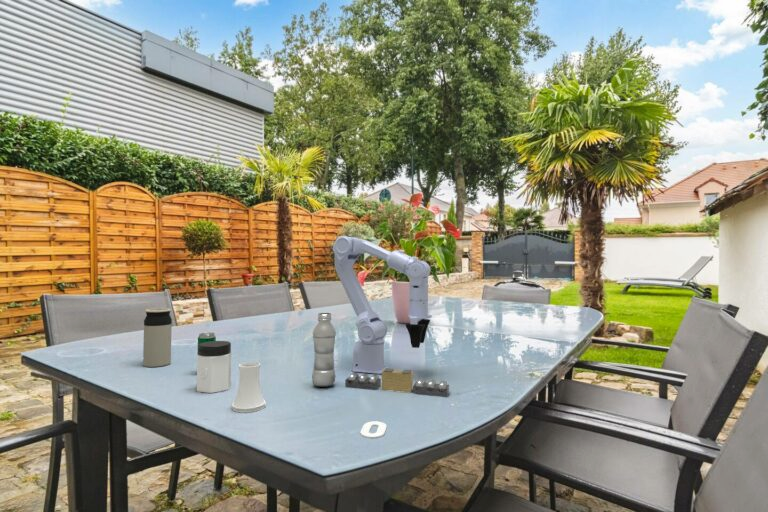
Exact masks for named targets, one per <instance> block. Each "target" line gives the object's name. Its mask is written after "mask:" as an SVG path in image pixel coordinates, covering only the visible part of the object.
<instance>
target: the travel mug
mask: <svg viewBox="0 0 768 512" xmlns="http://www.w3.org/2000/svg"><path fill="white" fill-rule="evenodd" d="M171 311H172V309H171V308H163V307H162V308H161V307H160V308H147V309H145V311H144V312H145V314H146V316H145V318H144V319H143V350H142V351H143V352H142V353H143V355H142V357H143V358H142V365H143V366H144V367H146V368H160V367H165V366H168V365H170V364H171V363H172V362H171V361H172V358H171V357H172V324H173V323H172V320H173V319H172V317H171V315H170V314H171V313H170V312H171Z"/></svg>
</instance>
